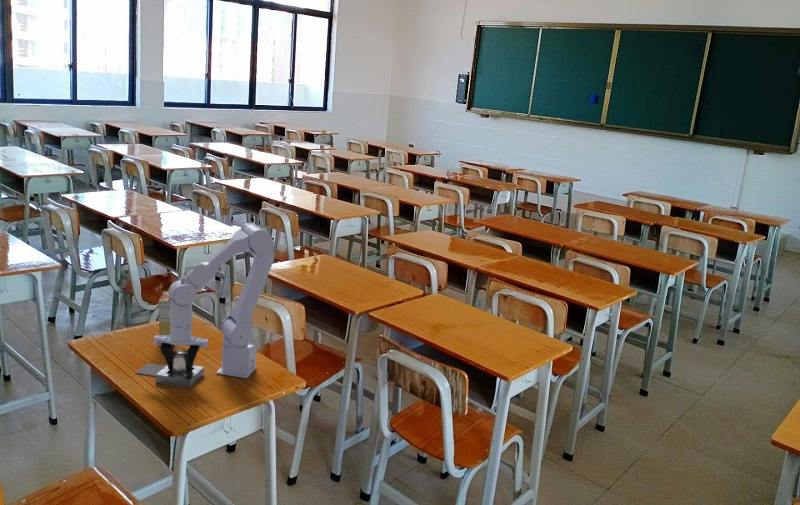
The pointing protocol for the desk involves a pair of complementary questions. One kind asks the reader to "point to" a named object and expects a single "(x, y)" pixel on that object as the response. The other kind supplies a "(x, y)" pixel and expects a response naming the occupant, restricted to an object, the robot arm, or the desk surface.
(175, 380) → the housing
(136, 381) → the desk surface
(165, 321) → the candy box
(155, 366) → the mat
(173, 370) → the metal cylinder
